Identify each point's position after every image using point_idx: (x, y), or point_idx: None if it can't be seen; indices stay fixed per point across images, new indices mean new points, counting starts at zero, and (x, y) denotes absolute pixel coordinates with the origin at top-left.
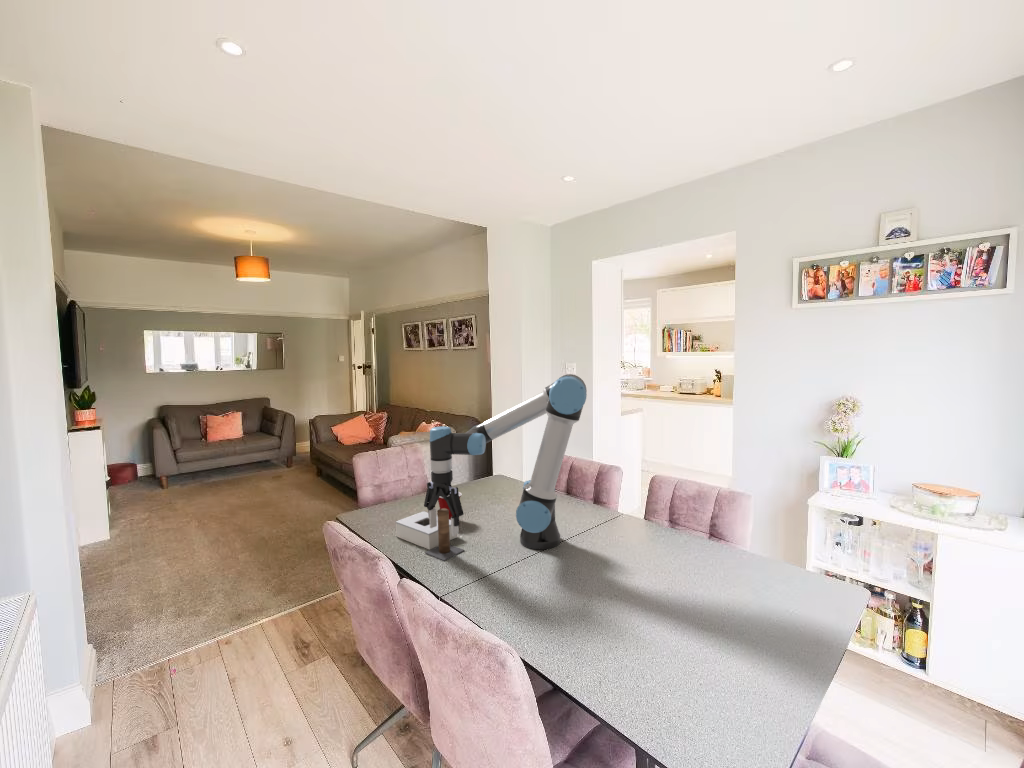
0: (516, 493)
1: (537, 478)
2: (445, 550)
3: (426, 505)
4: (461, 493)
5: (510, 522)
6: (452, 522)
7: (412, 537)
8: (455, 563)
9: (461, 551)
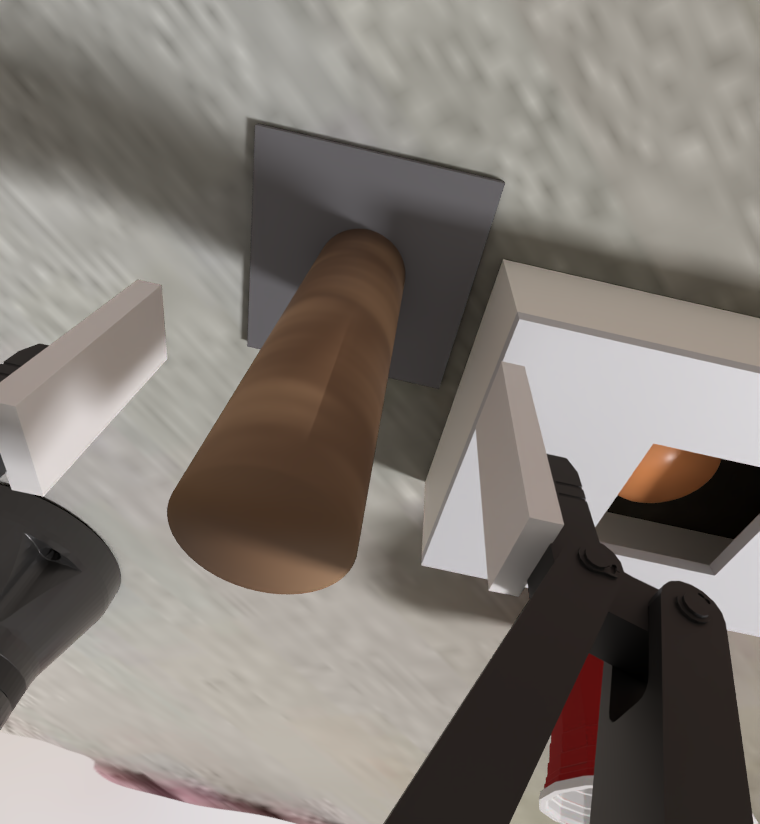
0: None
1: None
2: (322, 250)
3: (656, 609)
4: (555, 820)
5: (281, 651)
6: (36, 358)
7: (738, 330)
8: (150, 133)
9: (249, 319)
